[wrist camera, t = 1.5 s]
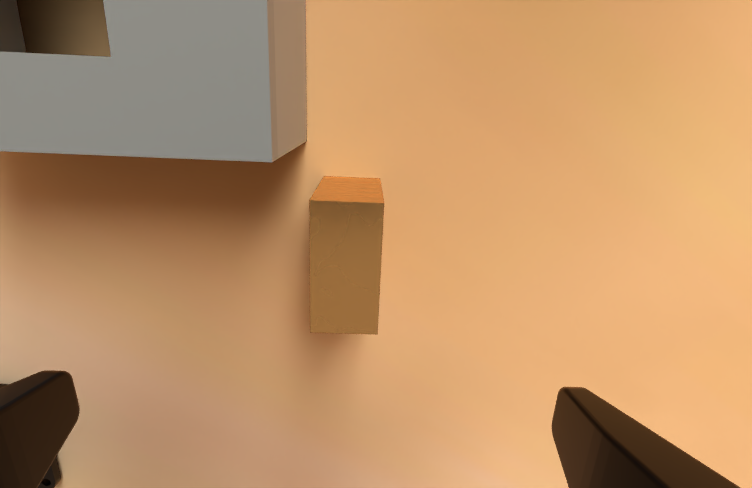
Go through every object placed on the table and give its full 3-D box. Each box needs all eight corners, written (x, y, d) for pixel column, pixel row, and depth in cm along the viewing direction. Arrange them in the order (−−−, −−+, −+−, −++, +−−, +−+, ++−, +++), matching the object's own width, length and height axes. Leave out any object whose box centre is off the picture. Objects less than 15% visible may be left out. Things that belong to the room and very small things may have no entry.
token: (375, 281, 21) (377, 334, 16) (323, 279, 21) (310, 332, 16) (380, 178, 19) (384, 203, 14) (323, 176, 19) (309, 200, 14)
